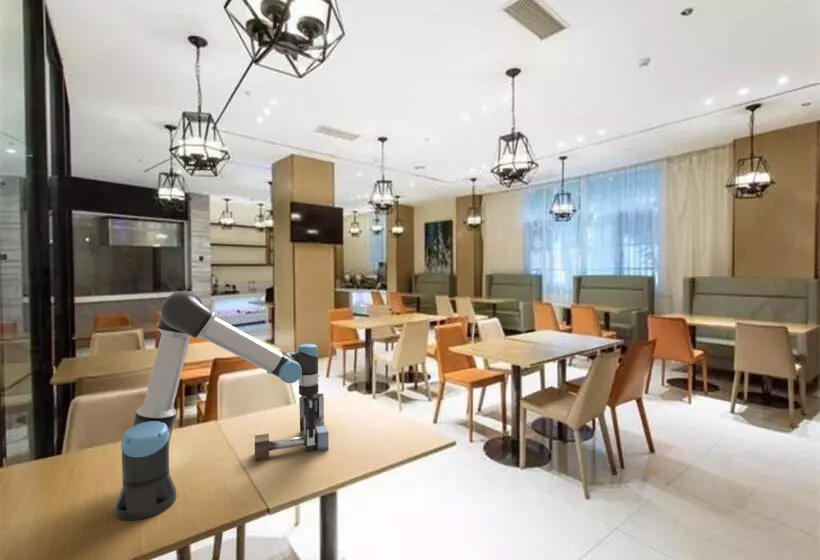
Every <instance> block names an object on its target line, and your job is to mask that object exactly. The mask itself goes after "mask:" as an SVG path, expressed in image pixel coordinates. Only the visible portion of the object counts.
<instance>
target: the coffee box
mask: <svg viewBox="0 0 820 560" xmlns="http://www.w3.org/2000/svg"><path fill="white" fill-rule="evenodd" d="M312 397H314V401H315V402H314V416H315V429H314V435H315V434H316V427H318V426H324V425H325V414H324V412H325V410H324V409H325V408H324V407H325V405H324V401H325V398H324V397H325V396H324V393H317V394H316V395H313V396H312ZM303 398H304V396H301V395H300V397H299V398H298V399H299V400H298V403H299V434H300V435H304V414H303V412H304V402H303Z"/></svg>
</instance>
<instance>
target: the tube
mask: <svg viewBox="0 0 820 560" xmlns="http://www.w3.org/2000/svg"><path fill="white" fill-rule="evenodd" d="M304 426H305V435H303V436H295V437H290V438H283V439H276V440H271V441H270V440H269V452H270V451H277V450H283V449H289V448H296V447H297V448H298V447H302V446H304V449H305V452H312V451H315V445H316V443H318V435H317V434H315V435H314V438H315V445H310V446H307V430H306V428H307V414H304ZM312 426H313V425H312Z"/></svg>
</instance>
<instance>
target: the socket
mask: <svg viewBox="0 0 820 560" xmlns="http://www.w3.org/2000/svg"><path fill="white" fill-rule="evenodd" d="M316 434H317V435H318V443H316V444H315V445H316V448H317V452H321V451H328V450H329V447H330V446H329V430H328V427H327V425H325V424H324V426H318V427H316Z"/></svg>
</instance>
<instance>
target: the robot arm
mask: <svg viewBox="0 0 820 560" xmlns="http://www.w3.org/2000/svg"><path fill="white" fill-rule="evenodd" d="M157 330H158V331H159V332H160V339H159V341H158V346H157V350H156V354H155V355H156V356H155V357H154V358H155V359H154V362H153V365H152V369H151V370H152V371H151V374H150V378H149V381H148V385H147V390H146V392H145V397H144V401H143V404H142V405H141V406H140V407H138V408H137V409H136V411H135V414H134V418H133V422H132V426H131V427H129V428H128V429H127V430H126V431H125V432H124V433H123V435H122V438H121V443H120V448H121V463H122V465H121V469H122V470H121V471H122V487H121V488H120V489H121V490H120V493H119V496H118V499H117V501H116V504H115V516H116V518H118V519H119V518H120V519H119V520H121V519H124V520H123V521H135V520H134V519H139V520H143V519H146V517H147V518H149V516H150V517H153V516H156V515H157V514H159V513H162V512H164V511H165V510H166V509H168V508H170V507H171V506H172V505H173V504H174V503H175V501H176V500H177V488H176V486H175V483H174V481H173V479H172V477H171V474H170V456H169V455H170V445H171V444H170V443H171V439H172V438H171V437H172V434H173V430H174V425H175V421H176V417H177V412H178V410H176V409H175V408H174V404H175V399H176V396H177V393H178V388H179V384H180V382H181V381H180V379H181V376H182V372H183V369H184V364H185V360H186V356H187V353H188V350H189V349H188V348H189V344H190V339H191V338H192V337H193V339H194V338H195V339H199V338H202V339H204V340H206V341H208V342H210V343H212V344H214V345H216V346H217V347H219V348H222V349H224V350H225V351H228V352H230V353H232V354H234V355H235V356H237V357H238V358H242V359H243V360H245V361H247V362H249V363H250V364H253V365H255V366H257V367H259V368H260V369H263V370H265V371H266V373H267V374H270V375H273V376H276V377H277V378H279V379H280V380H281V381H282V382H284V383H286V384H294V383H296V382H298V394H299V396H300V397H301V396H304V398H303V402H304V412H303V414H307V428H306V430H307V446H310V445H314V446H315V445H316V444H315V438H314V429H315V416H314V402H315V401H314V397H312V396H313V395H316V394H319V377H320V374H319V347H318V346H317V345H316V344H314V343H304V344H300V345H299V346H298V347H297V350H294V351H293V350H291V351H282V352H280V351H278V350H277V349H275V348H273V347H272V346H269V345H267V344H266V343H264V342H262V341H260V339H259V340H258V339H257V338H255V337H254V336H251V335H250V334H247V333H246V332H244V331H242V330H241V329H239V328H237V327H235V326H233V325H231V324H230V323H228V322H227V321H224V320H222V319H221V318H219V317H217V316H216V313H215V312H214V311H213V310H211V309H209V308H208V307H206V306H205V305H204V304H203V302H202V300H201V298H200V297H199V296H198V295H197V294H195V293H193V292H189V291H185V290H184V291H183V290H181V291H176V292H174V293H172V294H170V295H168V296H167V298H166V299H165V300H164V301H163V303H162V304H161V307H160V318H159V322H158V326H157ZM312 425H313V426H312ZM303 436H305V426H304V434H303ZM152 515H153V516H152ZM142 518H143V519H142Z"/></svg>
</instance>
